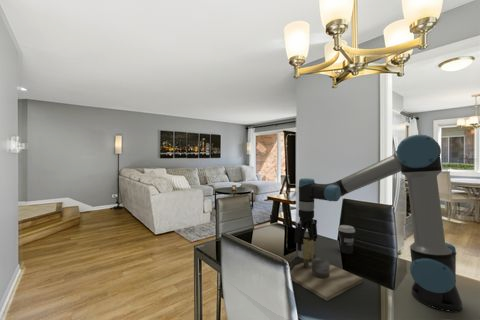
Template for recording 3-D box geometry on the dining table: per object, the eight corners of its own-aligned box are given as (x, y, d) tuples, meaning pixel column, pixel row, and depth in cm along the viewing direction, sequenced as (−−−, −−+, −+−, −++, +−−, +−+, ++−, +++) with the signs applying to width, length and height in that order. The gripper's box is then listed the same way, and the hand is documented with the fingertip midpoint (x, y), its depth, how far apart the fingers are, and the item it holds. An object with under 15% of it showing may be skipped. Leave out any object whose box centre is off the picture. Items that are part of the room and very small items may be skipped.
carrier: (362, 281, 105) (362, 255, 105) (326, 301, 90) (326, 270, 90) (313, 259, 128) (313, 237, 128) (278, 272, 113) (278, 247, 113)
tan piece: (316, 257, 115) (316, 239, 114) (306, 260, 111) (306, 241, 111) (305, 252, 120) (305, 235, 120) (295, 255, 117) (295, 237, 116)
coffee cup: (339, 254, 135) (339, 228, 135) (336, 248, 144) (336, 224, 144) (357, 255, 133) (357, 229, 133) (353, 249, 142) (353, 225, 142)
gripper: (313, 205, 124) (313, 248, 124) (286, 210, 113) (286, 257, 113) (325, 208, 118) (325, 253, 118) (298, 213, 107) (297, 262, 107)
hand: (306, 255), depth 116 cm, fingers closed on tan piece, 7 cm apart
